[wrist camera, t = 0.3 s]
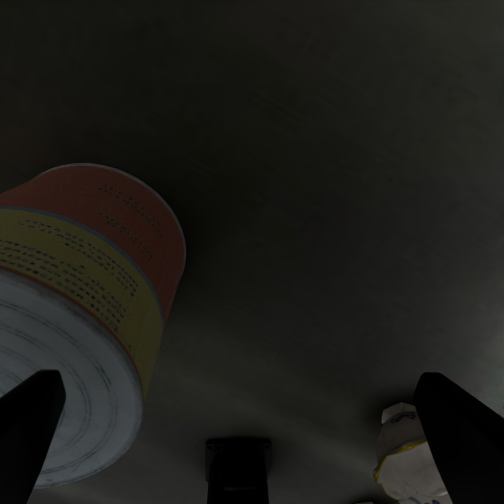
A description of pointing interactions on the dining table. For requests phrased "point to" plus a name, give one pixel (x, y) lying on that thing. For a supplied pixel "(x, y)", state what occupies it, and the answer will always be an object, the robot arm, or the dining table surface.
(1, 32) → the dining table surface
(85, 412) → the canned food
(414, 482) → the chinaware
